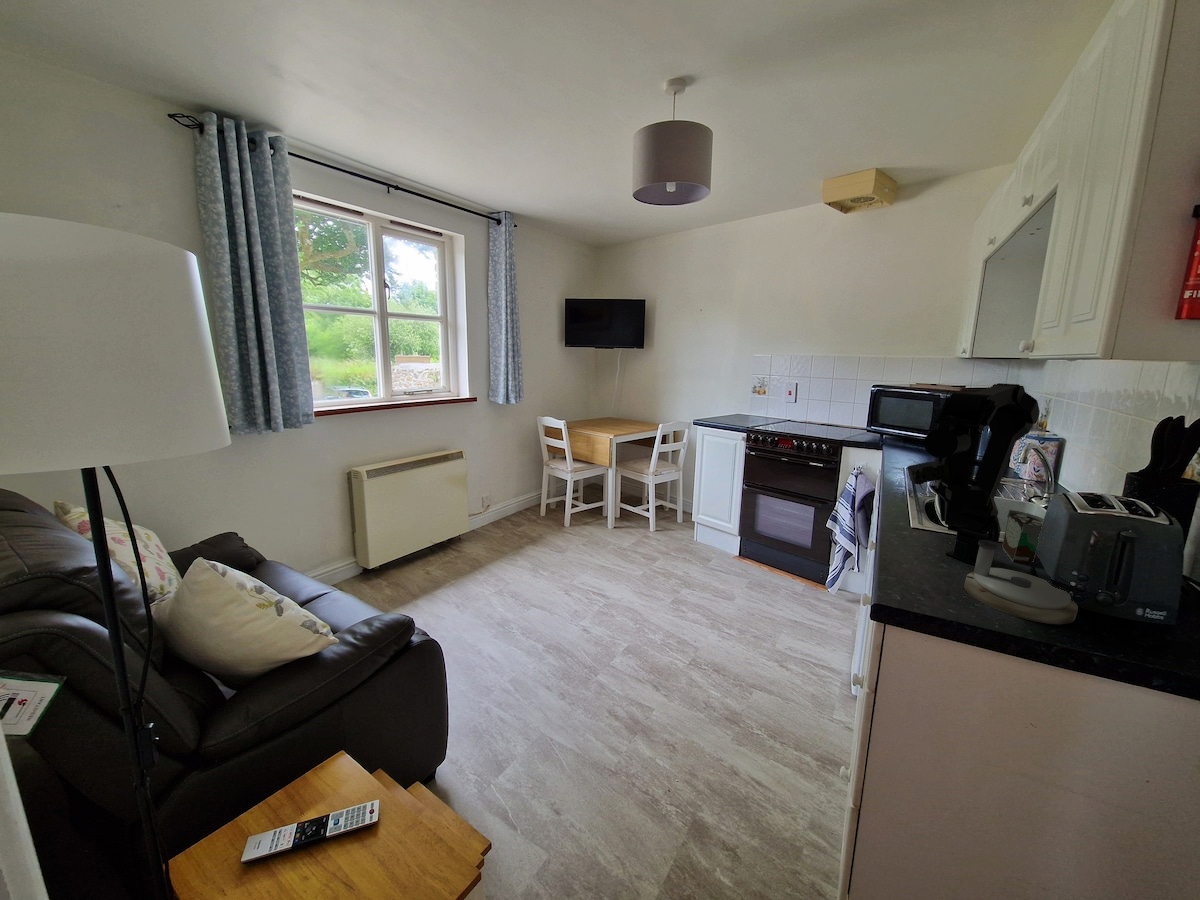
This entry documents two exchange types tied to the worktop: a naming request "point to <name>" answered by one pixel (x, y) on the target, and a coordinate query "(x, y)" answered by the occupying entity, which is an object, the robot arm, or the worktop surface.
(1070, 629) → the worktop surface
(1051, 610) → the dial base
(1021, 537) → the food container
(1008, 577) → the dial
